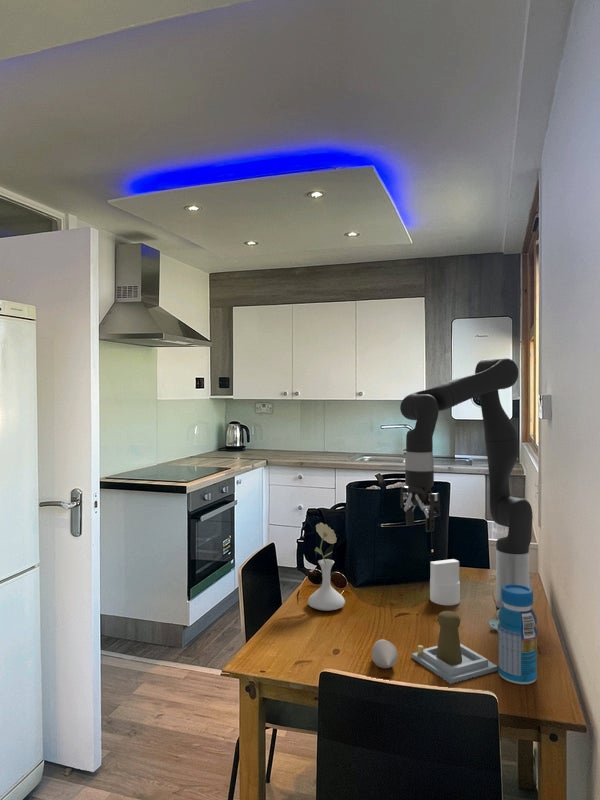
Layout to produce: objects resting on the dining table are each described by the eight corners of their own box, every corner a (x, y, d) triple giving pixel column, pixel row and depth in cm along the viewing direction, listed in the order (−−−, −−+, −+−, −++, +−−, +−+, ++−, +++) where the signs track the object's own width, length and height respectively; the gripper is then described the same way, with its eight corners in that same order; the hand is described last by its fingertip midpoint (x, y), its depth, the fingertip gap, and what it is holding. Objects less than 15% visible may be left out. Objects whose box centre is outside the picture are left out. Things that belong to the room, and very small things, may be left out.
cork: (463, 666, 130) (463, 618, 130) (436, 663, 131) (436, 616, 131) (461, 654, 136) (461, 609, 136) (435, 652, 137) (435, 607, 137)
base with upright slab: (449, 593, 180) (449, 556, 180) (465, 603, 172) (465, 564, 172) (424, 596, 178) (424, 559, 178) (440, 606, 169) (440, 567, 169)
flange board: (456, 646, 142) (456, 634, 142) (497, 670, 130) (497, 657, 130) (411, 657, 136) (411, 645, 136) (450, 684, 124) (450, 670, 124)
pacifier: (499, 624, 156) (485, 629, 153) (499, 602, 156) (486, 606, 153) (522, 633, 150) (509, 638, 147) (523, 610, 150) (509, 615, 147)
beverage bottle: (497, 682, 124) (496, 592, 124) (498, 665, 132) (497, 580, 132) (538, 688, 121) (538, 597, 121) (536, 671, 129) (536, 584, 129)
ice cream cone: (386, 686, 122) (380, 665, 137) (408, 668, 123) (399, 649, 138) (368, 663, 123) (364, 644, 138) (390, 645, 124) (383, 628, 138)
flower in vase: (351, 611, 166) (351, 527, 166) (315, 616, 162) (315, 530, 162) (333, 596, 178) (333, 518, 178) (300, 601, 174) (300, 521, 174)
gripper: (448, 470, 146) (448, 532, 146) (414, 464, 159) (414, 521, 159) (424, 472, 143) (425, 535, 143) (392, 466, 155) (392, 524, 156)
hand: (419, 528), depth 151 cm, fingers open, 8 cm apart
